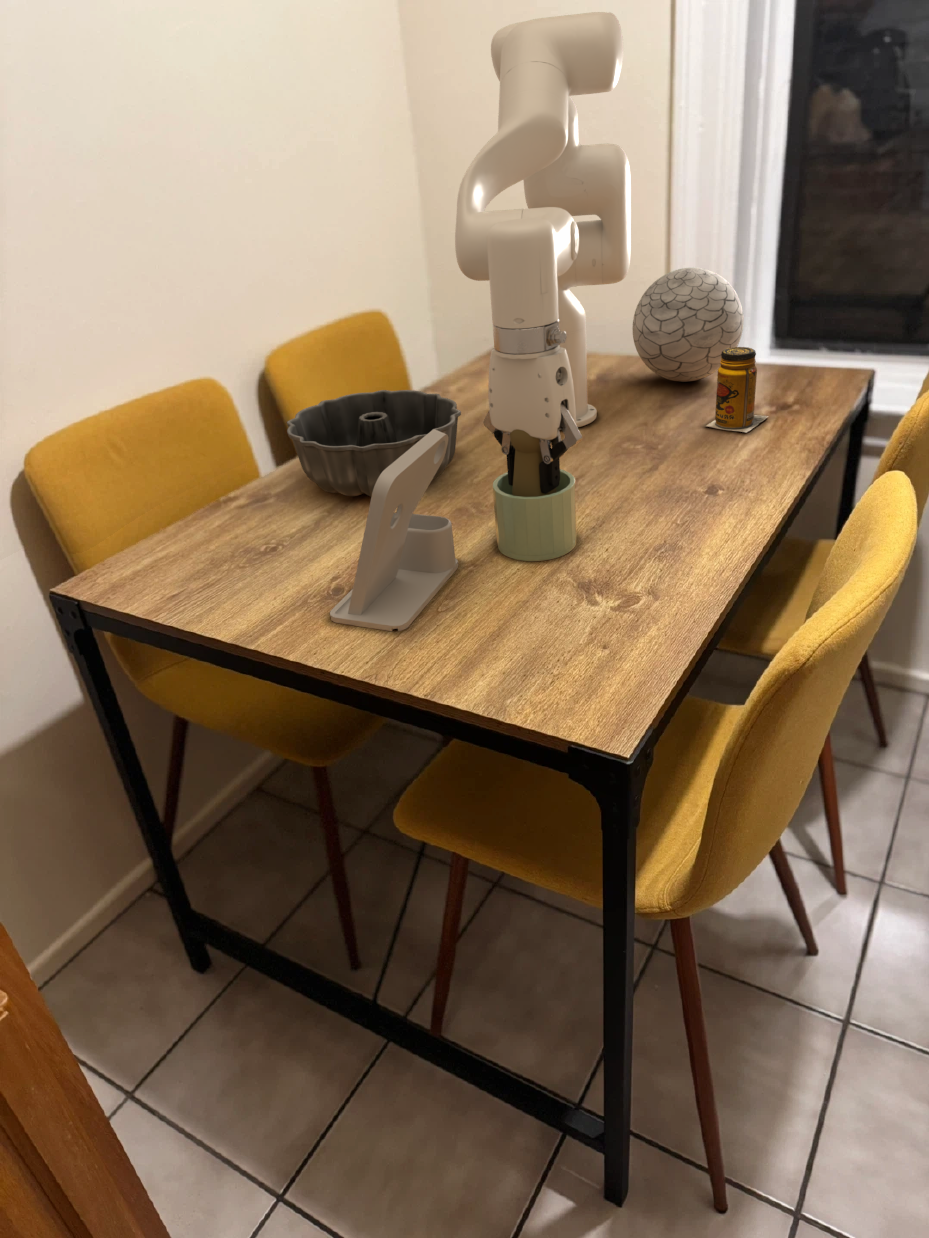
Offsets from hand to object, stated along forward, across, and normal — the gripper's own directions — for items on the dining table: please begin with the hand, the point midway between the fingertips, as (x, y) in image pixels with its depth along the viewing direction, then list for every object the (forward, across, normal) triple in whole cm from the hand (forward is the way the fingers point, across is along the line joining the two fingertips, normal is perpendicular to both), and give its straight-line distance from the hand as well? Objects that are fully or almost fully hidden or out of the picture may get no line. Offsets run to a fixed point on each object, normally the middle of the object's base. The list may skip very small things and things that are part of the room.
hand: (533, 484), depth 111 cm
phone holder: (+8, +7, +19) cm, 22 cm away
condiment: (+9, -2, -52) cm, 53 cm away
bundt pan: (+8, +35, -6) cm, 36 cm away
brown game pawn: (+3, 0, 0) cm, 3 cm away
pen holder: (+8, 0, 0) cm, 8 cm away
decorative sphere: (+9, +17, -70) cm, 72 cm away
